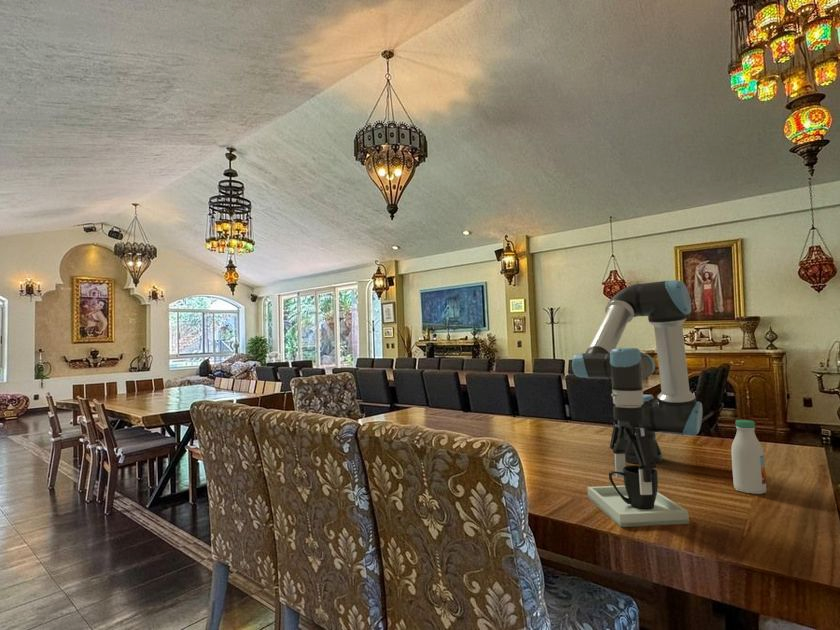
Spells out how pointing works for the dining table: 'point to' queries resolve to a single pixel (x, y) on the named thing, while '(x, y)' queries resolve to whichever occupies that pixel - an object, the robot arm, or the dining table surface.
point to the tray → (631, 516)
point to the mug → (636, 487)
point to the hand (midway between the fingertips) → (633, 485)
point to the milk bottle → (748, 460)
